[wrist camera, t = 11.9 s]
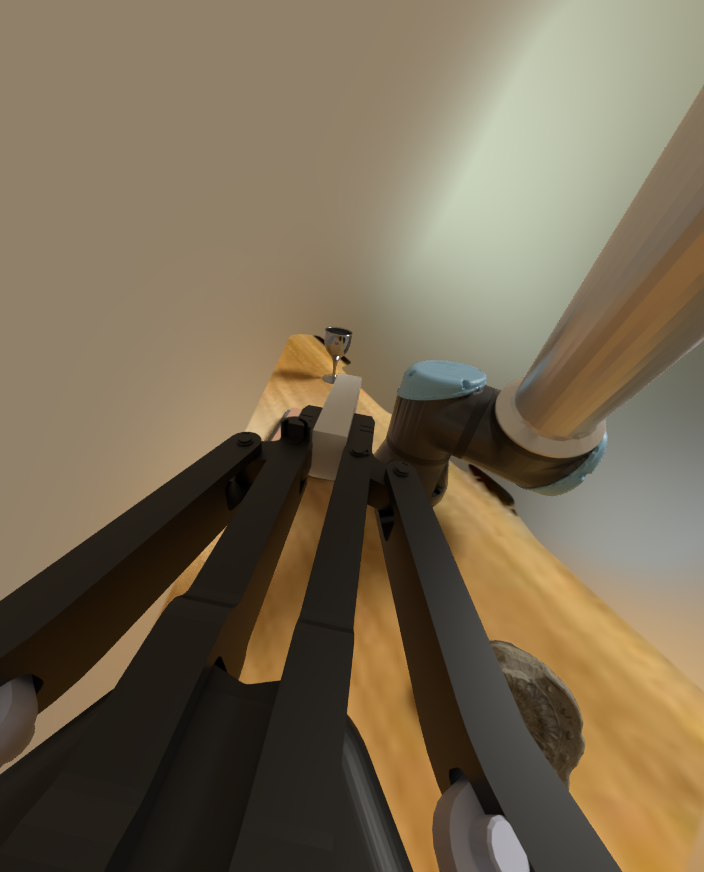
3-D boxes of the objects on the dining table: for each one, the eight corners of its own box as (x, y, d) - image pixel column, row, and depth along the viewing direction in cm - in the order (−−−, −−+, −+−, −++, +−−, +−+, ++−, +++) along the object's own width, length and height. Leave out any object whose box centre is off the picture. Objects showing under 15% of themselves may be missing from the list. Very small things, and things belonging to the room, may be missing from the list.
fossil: (443, 775, 23) (474, 674, 22) (429, 672, 32) (451, 597, 31) (580, 828, 22) (622, 723, 20) (525, 705, 31) (552, 627, 29)
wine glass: (340, 386, 83) (347, 337, 74) (316, 380, 84) (320, 330, 75) (349, 377, 89) (356, 331, 80) (326, 371, 90) (331, 325, 82)
